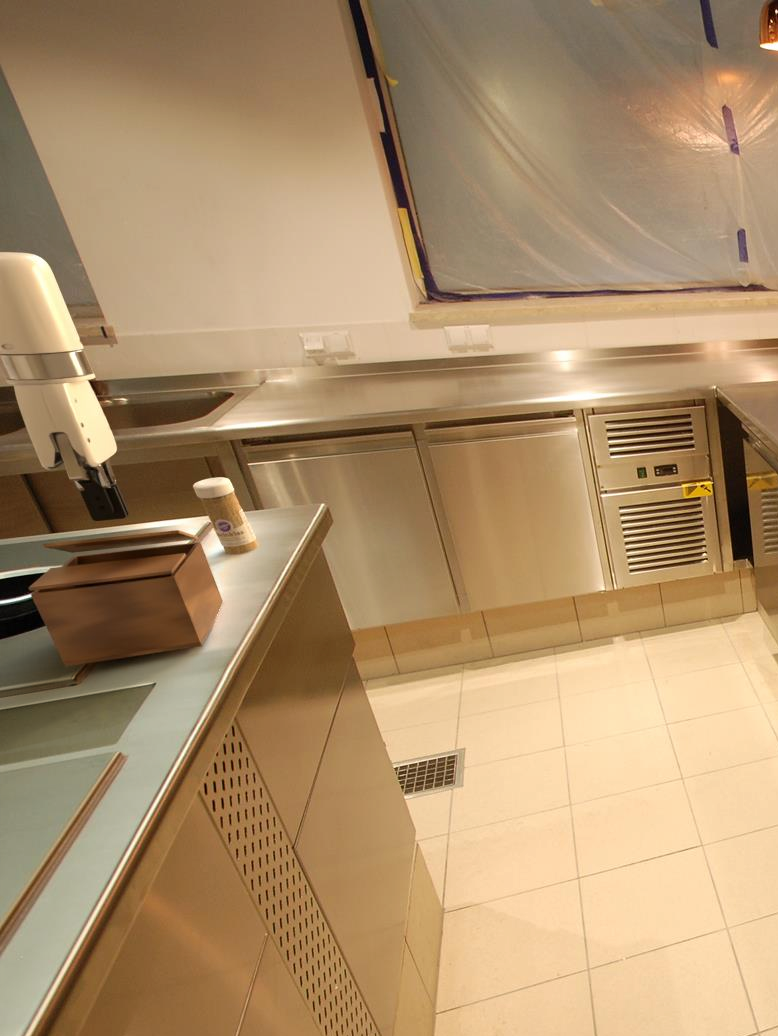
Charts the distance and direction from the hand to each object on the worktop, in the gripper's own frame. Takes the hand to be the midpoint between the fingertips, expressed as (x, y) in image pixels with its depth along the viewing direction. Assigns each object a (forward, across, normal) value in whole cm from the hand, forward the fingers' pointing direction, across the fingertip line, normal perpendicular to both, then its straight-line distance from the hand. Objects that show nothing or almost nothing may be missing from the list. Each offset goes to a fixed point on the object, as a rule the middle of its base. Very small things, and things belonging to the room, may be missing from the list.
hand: (111, 517), depth 106 cm
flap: (+4, -1, 0) cm, 4 cm away
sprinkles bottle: (+15, -25, +6) cm, 30 cm away
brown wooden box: (+15, +3, 0) cm, 15 cm away
